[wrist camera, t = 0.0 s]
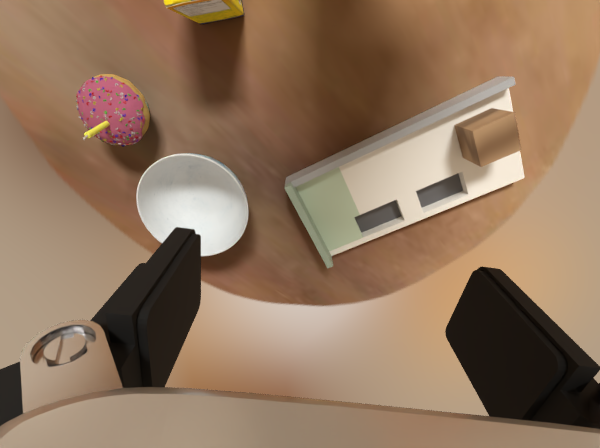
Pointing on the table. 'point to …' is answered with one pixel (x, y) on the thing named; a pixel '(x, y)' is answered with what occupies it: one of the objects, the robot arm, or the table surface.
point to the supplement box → (206, 9)
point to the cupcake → (113, 110)
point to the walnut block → (488, 136)
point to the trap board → (400, 175)
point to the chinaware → (193, 200)
